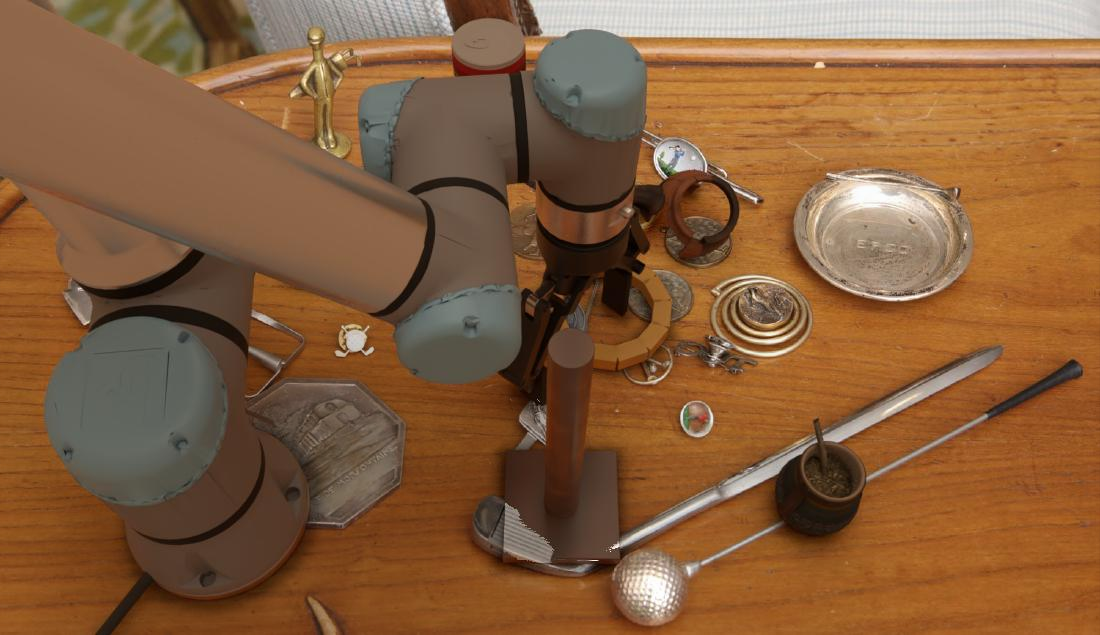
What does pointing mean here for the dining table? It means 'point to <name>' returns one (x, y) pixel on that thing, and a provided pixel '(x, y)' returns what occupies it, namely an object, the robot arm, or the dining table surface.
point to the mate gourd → (820, 487)
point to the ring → (651, 336)
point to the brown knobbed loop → (671, 194)
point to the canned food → (488, 48)
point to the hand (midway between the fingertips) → (574, 350)
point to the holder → (567, 466)
